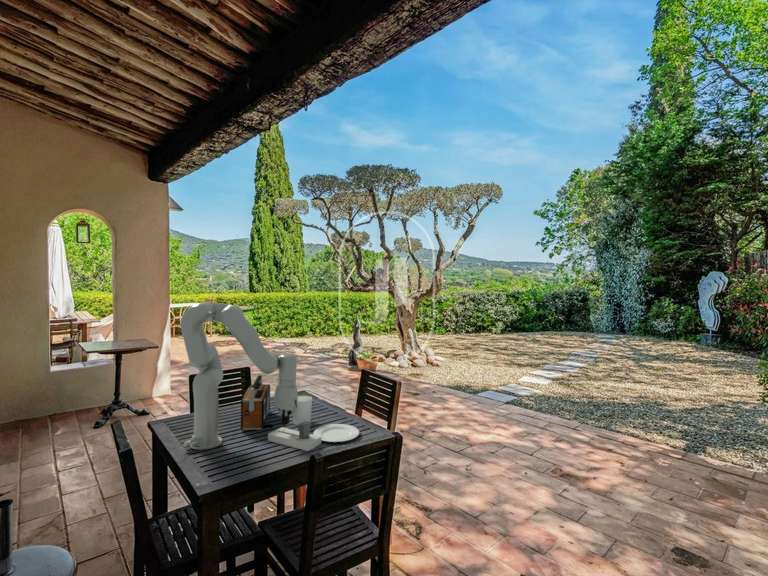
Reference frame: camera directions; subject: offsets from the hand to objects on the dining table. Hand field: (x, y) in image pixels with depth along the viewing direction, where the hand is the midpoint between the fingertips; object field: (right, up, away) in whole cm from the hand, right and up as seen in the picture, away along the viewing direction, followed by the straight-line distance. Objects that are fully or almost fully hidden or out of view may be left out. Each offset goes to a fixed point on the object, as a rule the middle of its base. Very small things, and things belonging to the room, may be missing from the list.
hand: (285, 424), depth 176 cm
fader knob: (+9, -4, -4) cm, 11 cm away
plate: (+22, -8, +6) cm, 24 cm away
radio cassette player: (-20, -7, +23) cm, 31 cm away
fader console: (+4, -7, -2) cm, 9 cm away
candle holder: (+3, -7, +22) cm, 23 cm away
